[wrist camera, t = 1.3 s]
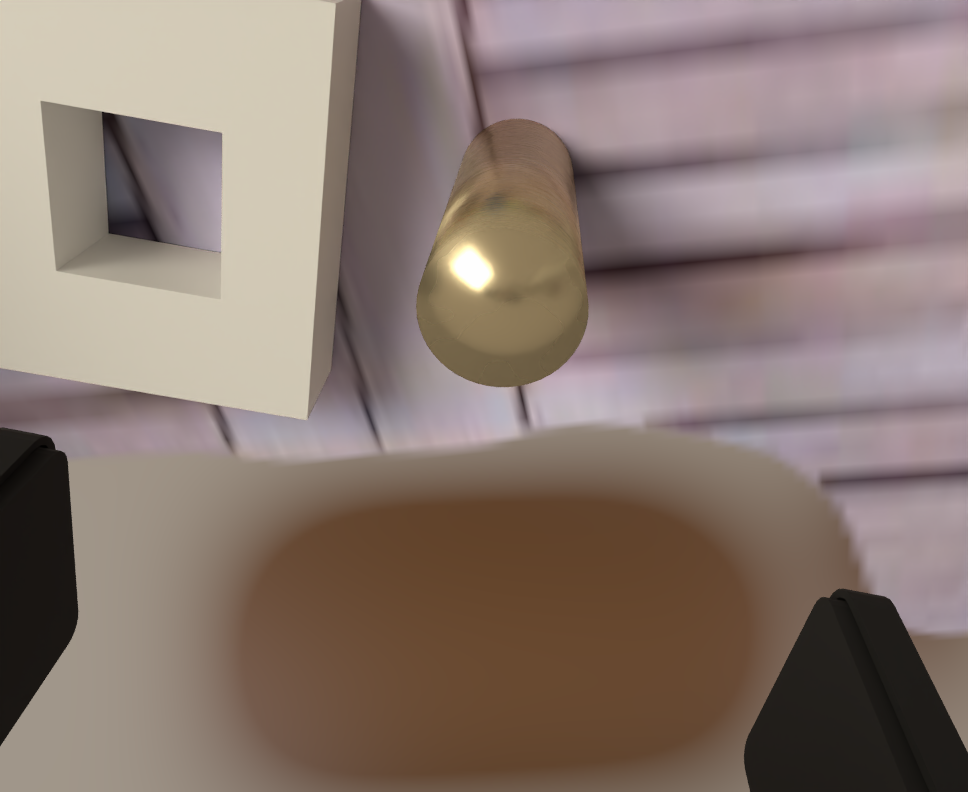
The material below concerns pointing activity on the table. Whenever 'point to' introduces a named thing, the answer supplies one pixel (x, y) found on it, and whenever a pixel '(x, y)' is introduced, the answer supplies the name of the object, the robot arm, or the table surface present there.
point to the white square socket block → (245, 195)
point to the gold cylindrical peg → (507, 261)
